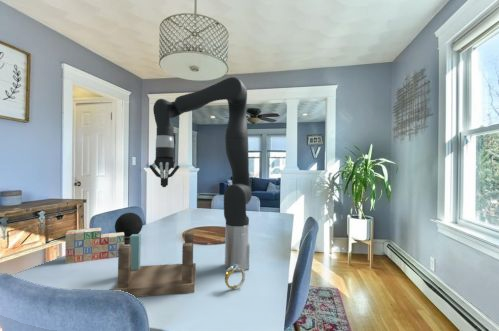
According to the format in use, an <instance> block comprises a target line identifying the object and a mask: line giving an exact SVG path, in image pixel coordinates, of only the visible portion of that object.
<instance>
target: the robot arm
mask: <svg viewBox="0 0 499 331" xmlns="http://www.w3.org/2000/svg"><path fill="white" fill-rule="evenodd" d="M223 100H224V101H225V100H226V101H227V105H228V120H227V121H228V122H227V125H226V130H225V135H224V136H225V137H224V138H225V140H224V142H225V153H226V158H227V160H228V163H229V166H230V168H231V175H232V182H231V183H232V184H229V186H227V187H226V189H225V191H224V192H223V216H224V220H225V237H224V239H225V241H224V242H225V243H224V244H225V246H224V248H225V249H224V251H225V252H224V268H225V269H226V270H228V269H229V268H230V267H231V266H233V264H234V265H236V264H237V265H238V264H239V265H240V268H242V269H243V270H244V271H246V270H249V269H250V248H251V247H250V244H249V230H250V229H249V228H250V227H249V226H250V224H249V223H250V218H249V216H248V215H247V204H249V202H251V199H252V194H253V193H252V186H251V180H250V172H249V169H250V168H249V166H250V165H249V136H248V135H249V134H248V132H249V131H248V123H247V122H248V121H247V104H248V103H247V102H248V90H247V87H246V85H245V84H244V83H243V82H242V80H240V79H239V78H238V77H234V76H233V77H227V78H226V79H222V80H220V81H218V82H216V83H214V84H212V85H210V86H207V87H205V88H203V89H202V88H201V90H196V91H194V92H190V93H187V94H183V95H179V96H178V97H176V98H175V99H174V101H170V100H169V101H168V100H167V99H164V98H158V99H156V100H155V102H154V104H153V108H152V109H153V116H154V121H155V122H154V123H155V124H156V135H155V136H156V138H155V159H154V161H153V163H152V164H150V165H149V166H148V167H149V169H150V170H151V171H152V173H153V174H154V175H155V176H156V177H158V178H160V186H161V188H166V187H168V185H169V178H172V177H173V176H174V175H175V174H176V172H177V171H178V170H179V169H180V168H181V166H180V165H178V164H177V163H176V160H175V139H174V138H175V137H174V136H175V135H174V134H175V132H174V130H175V128H174V125H173V123H172V122H171V121H170V119H173V118H176V117H179V116H180V115H182V114H184V113H189V112H192V111H196V110H199V109H201V108H203V107H204V106H207V105H208V104H211V103H213V102H216V101H223ZM172 168H173V170H172V171H171V172H170V170H171V169H172ZM157 169H158V170H159V171H158V170H157ZM239 265H238V266H239ZM232 270H233V269H231V270H230V271H232ZM234 272H241V271H240V270H235V271H234Z"/></svg>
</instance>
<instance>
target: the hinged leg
mask: <svg viewBox="0 0 499 331" xmlns="http://www.w3.org/2000/svg"><path fill="white" fill-rule="evenodd" d="M141 237H142V234H141V233H139V234H132V235H131V236H130V244H129V245H131V270H138V269H139V268H140V266H141V246H142V245H141V244H142V241H141V240H142V238H141Z"/></svg>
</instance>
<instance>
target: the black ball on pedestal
mask: <svg viewBox="0 0 499 331" xmlns="http://www.w3.org/2000/svg"><path fill="white" fill-rule="evenodd" d="M142 229H143V220H142V217H140V215H139V214H137V213H135V212H125V213H123V214H121V215H120V216H119V217H118V218H117V219H116V220H115V223H114V230H115V233H120V232H124V245H130V236H131V235H132V234H141V233H140V232H141V231H142Z"/></svg>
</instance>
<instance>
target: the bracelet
mask: <svg viewBox="0 0 499 331" xmlns="http://www.w3.org/2000/svg"><path fill="white" fill-rule="evenodd" d="M238 265H239V264H238ZM238 265H237V264H236V265H234V264H233V266H231V267H230V268H229V269H228V270H227V269H226V270H227V271H226V272H225V275H224V282H225V283H224V284H225V285H226V287H227V288H228V289H229V290H234V291H236V290H238V289H240V288H241V287H242V286H243V284H244V283H245V280H246V273H245V270H243V269H242V268H240V265H239V266H238ZM231 269H233V270H232V271H230V270H231ZM235 270H240V271H239V272H241V281H240V282H239V283H238V284H237V285H236V284H235V285H233V286H232V285H230V284H229V282H228V281H229V278H230V276H232V274H233V273H235V272H236V271H235Z"/></svg>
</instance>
